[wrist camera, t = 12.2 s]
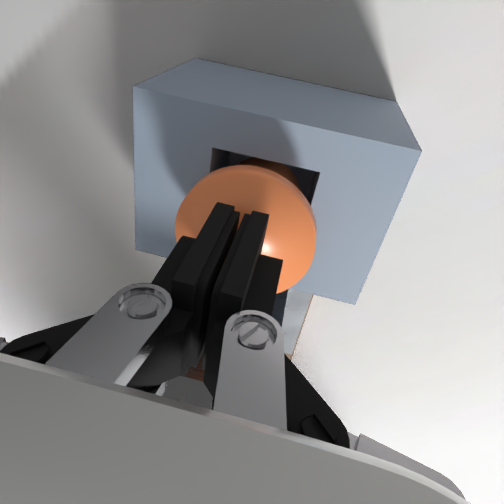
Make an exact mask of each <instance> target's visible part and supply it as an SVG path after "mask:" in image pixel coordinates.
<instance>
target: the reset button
mask: <svg viewBox="0 0 504 504" xmlns="http://www.w3.org/2000/svg"><path fill="white" fill-rule="evenodd" d="M217 202H220V203H224V204H228V205H232V206H234V207H235V210H234V211H238V212H240V217H239V223H238V228H239V226H240V223H241V221H242V219H243V216H244V214H245V213H246V214H250V215H251V213H252V211H258V212H262V213H266V214H269V220H268V225H267V229H266V234H265V238H264V243H263V248H262V252H261V254H262V255H266V256H270V257H274V258H278V259H282V260H283V264H282V269H281V274H280V279H279V283H278V288H277V293H280V292H283V291H285V290H287V289H289V288H290V287H292V286H293V285H295V284H296V283H297V282H298V281H299V280H301V279H302V277H303V276H304V275H305V274H306V273H307V271H308V269H309V268H310V266H311V263H312V261H313V258H314V253H315V246H316V235H317V227H316V220H315V216H314V213H313V210H312V208H311V206H310V204H309V202H308V200H307V199H306V197H305V196H304V195H303V193H302V192H301V191H300V186H299V183H298V180H297V178H296V177H295V175H294V174H293V172H292V171H291V170H290V169H289V168H288V167H287V166H286V165H284V164H282V163H278V162H273V161H269V160H265V159H260V158H256V157H252V158H248V159H245V160H243V161H241V162H239V163H238V164H237V165H234V166H228V167H223V168H220V169H217V170H215V171H213V172H211V173H209V174H207V175H206V176H204V177H203V178H202V179H200V180H199V181H198V182H197V183H196V184H195V185H194V187H193V188H192V189H191V191H190V192H189V193H188V195H187V196H186V197H185V199H184V200H183V202H182V203H181V205H180V207H179V209H178V212H177V216H176V221H175V235H176V241H177V242H178V241H179V239H180V238H181V237H182V236H183V235H184V236H188V237H192V238H196V237H197V236H198V234H199V232H200V231H201V229H202V227H203V225H204V224H205V222H206V220H207V218H208V217H209V215H210V213H211V211H212V210H213V208H214V206H215V204H216V203H217ZM237 230H238V229H237ZM277 293H276V294H277Z"/></svg>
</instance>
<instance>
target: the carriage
mask: <svg viewBox="0 0 504 504" xmlns="http://www.w3.org/2000/svg"><path fill="white" fill-rule="evenodd" d="M311 297H312V294H310V293H306V292H302V291H298V290H294V289H290V288H289V289H287V290H285V291H283V292H280V293H277V294H276V298H275V302H274V307H273V312H272V317H273V318H274V319H275V320H276V321H277V322H278V323H279V325H280V326H281V328H282V331H283V335H284V353H287V354H291V355H292V353H293V350H294V347H295V344H296V341H297V338H298V335H299V332H300V329H301V326H302V323H303V320H304V317H305V314H306V311H307V308H308V306H309V303H310V300H311ZM203 354H204V349H203V352H202V355H201V357H200V360H199V363H198V365H197V367H196V368H195V367H191V366H190V368H189V370H188V373H187V375H186V377H183V376H178V377H176V378H174V379H171V380H169V381H168V385H167V387H166V390H165V392H164V393H163V395H162V396H163V397H167V398H170V399H174V400H178V401H181V402H185V403H189V404H192V405H196V406H200V407H203V408H207V409H211V404H212V398H213V397H212V396H211V394H210V392H209V391H208V389H207V387H206V386H205V384H204V383H203V378H204V371H205V370H203V369H202V362H203Z"/></svg>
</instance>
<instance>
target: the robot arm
mask: <svg viewBox="0 0 504 504" xmlns="http://www.w3.org/2000/svg"><path fill="white" fill-rule="evenodd" d="M234 210H235V207H234V206H232V205H228V204H224V203H220V202H217V203H216V204H215V206H214V208H213V210H212V211H211V213H210V215H209V217H208V218H207V220H206V222H205V224H204V225H203V227H202V229H201V231H200V232H199V234H198V236H197V237H196V238H192V237H188V236H184V235H183V236H182V237H181V238H180V239H179V241H178V242H177V244H176V245H175V247H174V248H173V250H172V252H171V253H170V255H169V256H168V258H167V259H166V261H165V263H164V264H163V266H162V267H161V269H160V270H159V272H158V273H157V275H156V277H155V278H154V280H153V281H152V283H151V284H150V283H138V284H132V285H129V286H127V287H125V288H123V289H121V290H120V291H119V292H117V293H116V294H115V295H114V296H113V297H112V298H111V299H110V300H109V301H108V302H107V303H106V304H105V305H104V306H103V307H102V308H101V309H100V310H99V311H98V312H97V313H96V314H94V315H91V316H88V317H84V318H81V319H78V320H74V321H71V322H68V323H64V324H61V325H58V326H54V327H51V328H48V329H44V330H41V331H38V332H34V333H31V334H28V335H25V336H22V337H20V338H17V339H15V340H13V341H12V342H10V343H8V342H6V340H5V338H2V337H0V504H470V503H469V502H467V501H466V500H465V498H464V496H463V494H462V492H461V491H460V490H459V489H458V488H457V486H456V485H455V484H454V483H453V482H452V481H451V480H449V479H448V478H447V477H445V476H444V475H442V474H441V473H439V472H437V471H435V470H433V469H431V468H429V467H427V466H425V465H423V464H421V463H419V462H417V461H415V460H413V459H411V458H409V457H407V456H405V455H403V454H401V453H399V452H397V451H395V450H393V449H391V448H389V447H387V446H385V445H383V444H381V443H379V442H377V441H375V440H373V439H371V438H369V437H367V436H365V435H363V434H360V435H359V437H357V436H355V435H353V434H351V433H349V432H347V430H346V428H345V426H344V425H343V423H342V422H341V420H340V419H339V418H338V417H337V415H336V414H335V413H334V412H333V411H332V409H331V408H330V407H329V406H328V405H327V403H326V402H325V401H324V400H323V399H322V397H321V396H320V395H319V394H318V393H317V391H316V390H315V389H314V388H313V387H312V386H311V384H310V383H309V382H308V381H307V380H306V378H305V377H304V376H303V375H302V374H301V372H300V371H299V370H298V369H297V368H296V366H295V365H294V364H293V363H292V362H291V360H290V359H289V358H288V357H287V356H286V355H285V353H284V335H283V331H282V328H281V326H280V325H279V323H278V322H277V321H276V320H275V319H274V318H273V317H272V312H273V307H274V302H275V298H276V293H277V288H278V283H279V279H280V274H281V269H282V264H283V260H282V259H278V258H274V257H270V256H266V255H262V254H261V252H262V248H263V243H264V238H265V234H266V229H267V225H268V220H269V214H266V213H262V212H258V211H252V213H251V215H250V214H246V213H245V214H244V216H243V219H242V221H241V223H240V226H239V228H238V223H239V217H240V212H238V211H234ZM237 229H238V230H237ZM203 349H204V354H203V362H202V369H203V370H205V371H204V378H203V383H204V384H205V386H206V387H207V389H208V391H209V392H210V394H211V396H212V397H213V398H212V404H211V409H207V408H203V407H200V406H196V405H192V404H189V403H185V402H181V401H178V400H174V399H170V398H167V397H163V396H162V395H163V393H164V392H165V390H166V387H167V385H168V381H169V380H171V379H174V378H176V377H178V376H183V377H186V375H187V373H188V370H189V368H190V366H191V367H195V368H196V367H197V365H198V363H199V360H200V357H201V355H202V352H203Z"/></svg>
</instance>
